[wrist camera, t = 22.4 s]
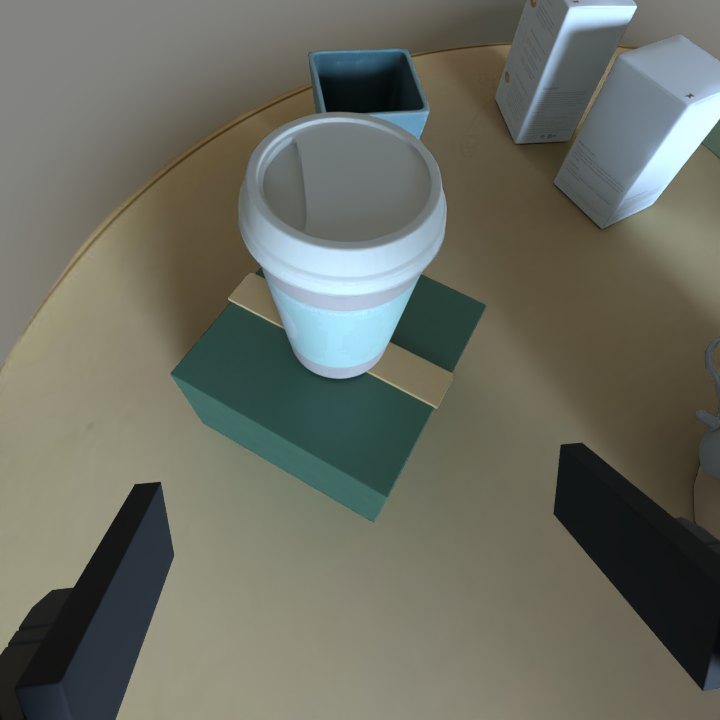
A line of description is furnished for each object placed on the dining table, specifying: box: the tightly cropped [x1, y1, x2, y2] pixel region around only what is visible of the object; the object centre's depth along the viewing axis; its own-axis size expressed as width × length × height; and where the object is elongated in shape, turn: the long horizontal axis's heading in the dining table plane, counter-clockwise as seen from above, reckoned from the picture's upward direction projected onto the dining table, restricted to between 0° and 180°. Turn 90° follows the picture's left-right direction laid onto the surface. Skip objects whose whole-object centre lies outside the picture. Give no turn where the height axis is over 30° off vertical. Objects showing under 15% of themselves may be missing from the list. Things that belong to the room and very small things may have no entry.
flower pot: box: [308, 48, 430, 140], centre depth 43 cm, size 9×9×9 cm
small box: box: [495, 0, 637, 144], centre depth 47 cm, size 8×6×13 cm
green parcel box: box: [171, 267, 486, 522], centre depth 32 cm, size 14×14×8 cm
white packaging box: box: [553, 34, 720, 229], centre depth 42 cm, size 7×7×13 cm
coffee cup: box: [238, 112, 447, 379], centre depth 23 cm, size 8×8×12 cm
